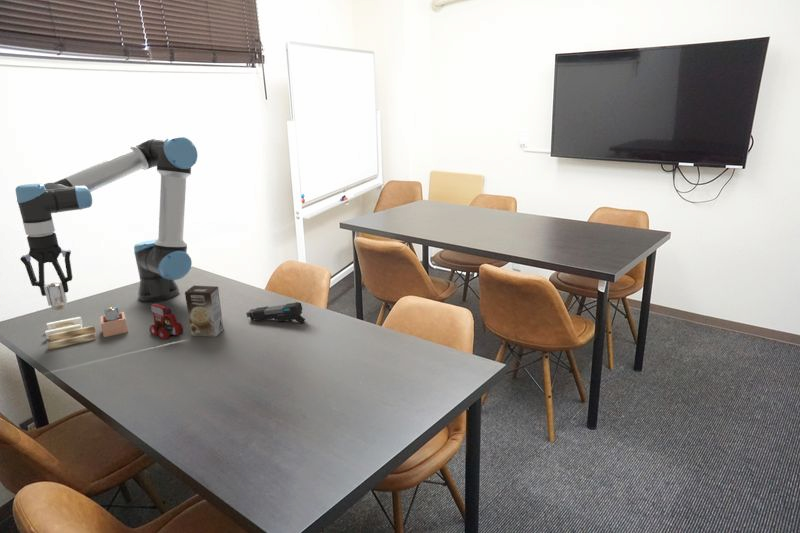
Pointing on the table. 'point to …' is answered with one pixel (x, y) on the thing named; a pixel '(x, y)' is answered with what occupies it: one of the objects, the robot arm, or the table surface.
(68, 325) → the tan flat square block
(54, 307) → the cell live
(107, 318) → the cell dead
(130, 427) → the table surface
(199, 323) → the coffee box
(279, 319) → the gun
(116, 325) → the square hollow tube
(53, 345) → the trough
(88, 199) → the robot arm
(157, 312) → the toy fire truck
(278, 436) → the table surface
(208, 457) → the table surface
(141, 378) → the table surface
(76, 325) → the cradle
